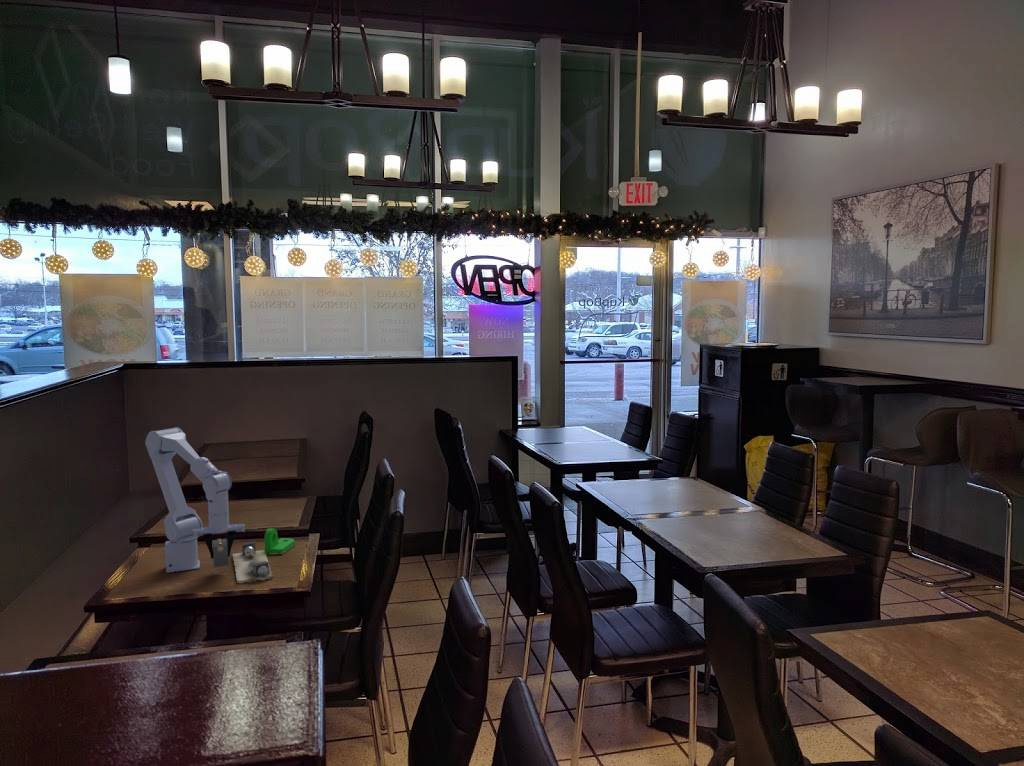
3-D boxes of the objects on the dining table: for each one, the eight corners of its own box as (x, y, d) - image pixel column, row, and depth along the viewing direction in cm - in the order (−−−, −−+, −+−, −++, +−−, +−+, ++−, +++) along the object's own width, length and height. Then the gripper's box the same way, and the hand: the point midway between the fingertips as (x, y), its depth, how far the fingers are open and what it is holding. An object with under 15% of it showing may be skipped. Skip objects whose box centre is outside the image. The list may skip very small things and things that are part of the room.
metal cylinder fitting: (256, 557, 239) (256, 546, 239) (243, 559, 238) (243, 548, 237) (254, 550, 247) (254, 540, 246) (242, 552, 245) (241, 541, 245)
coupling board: (237, 583, 218) (237, 581, 218) (232, 556, 244) (232, 553, 244) (272, 578, 222) (272, 576, 222) (264, 552, 248) (264, 549, 248)
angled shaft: (246, 572, 226) (246, 560, 225) (259, 569, 228) (259, 557, 228) (258, 578, 220) (257, 566, 220) (271, 575, 223) (270, 563, 222)
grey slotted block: (214, 567, 221) (213, 547, 221) (213, 558, 230) (212, 539, 229) (228, 565, 223) (227, 546, 222) (227, 556, 231) (226, 537, 231)
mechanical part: (282, 555, 245) (281, 531, 244) (265, 554, 246) (264, 531, 245) (297, 544, 257) (296, 521, 256) (281, 543, 258) (280, 521, 257)
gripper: (192, 518, 218) (194, 563, 220) (244, 513, 224) (246, 557, 225) (192, 513, 225) (194, 556, 226) (243, 508, 231) (245, 550, 232)
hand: (220, 556), depth 226 cm, fingers closed on grey slotted block, 4 cm apart
